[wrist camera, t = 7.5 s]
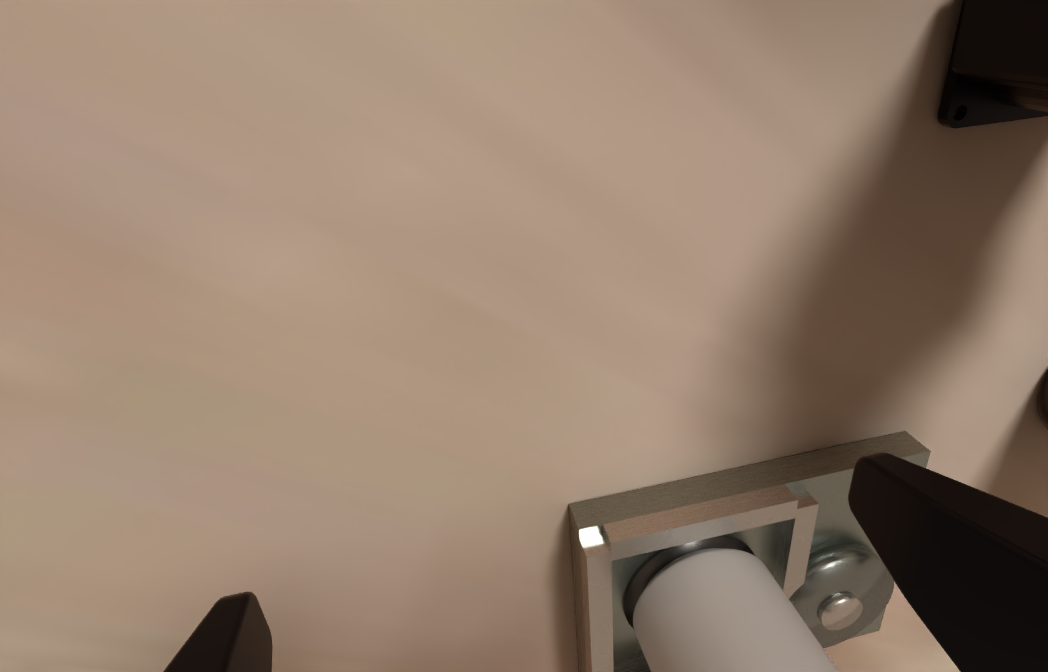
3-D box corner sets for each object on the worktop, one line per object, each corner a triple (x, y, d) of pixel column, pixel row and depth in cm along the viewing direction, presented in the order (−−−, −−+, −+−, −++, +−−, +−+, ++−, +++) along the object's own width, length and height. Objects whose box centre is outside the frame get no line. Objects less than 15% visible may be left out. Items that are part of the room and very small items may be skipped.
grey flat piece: (905, 431, 29) (958, 473, 26) (860, 607, 35) (899, 655, 32) (568, 504, 27) (590, 558, 24) (579, 680, 32) (597, 739, 30)
